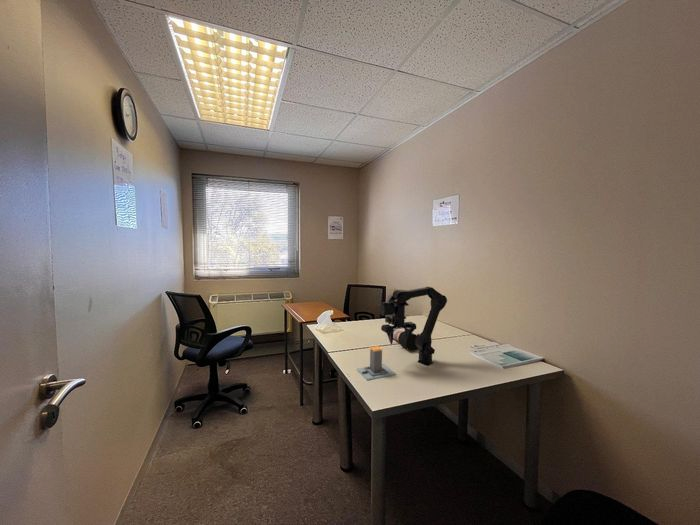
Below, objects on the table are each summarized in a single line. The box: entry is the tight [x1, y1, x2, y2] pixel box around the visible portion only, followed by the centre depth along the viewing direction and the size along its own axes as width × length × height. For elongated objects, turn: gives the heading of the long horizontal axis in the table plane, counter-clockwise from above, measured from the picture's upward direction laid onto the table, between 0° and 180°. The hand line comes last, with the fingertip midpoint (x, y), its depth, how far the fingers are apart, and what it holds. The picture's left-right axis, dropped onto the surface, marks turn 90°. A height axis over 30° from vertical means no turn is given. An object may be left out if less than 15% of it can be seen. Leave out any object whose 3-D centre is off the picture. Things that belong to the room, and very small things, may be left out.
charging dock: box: [356, 363, 397, 381], centre depth 140 cm, size 16×12×2 cm
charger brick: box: [369, 345, 383, 374], centre depth 140 cm, size 4×4×12 cm
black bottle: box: [393, 329, 419, 352], centre depth 184 cm, size 10×34×10 cm, turn 14°
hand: (398, 342), depth 146 cm, fingers open, 9 cm apart
